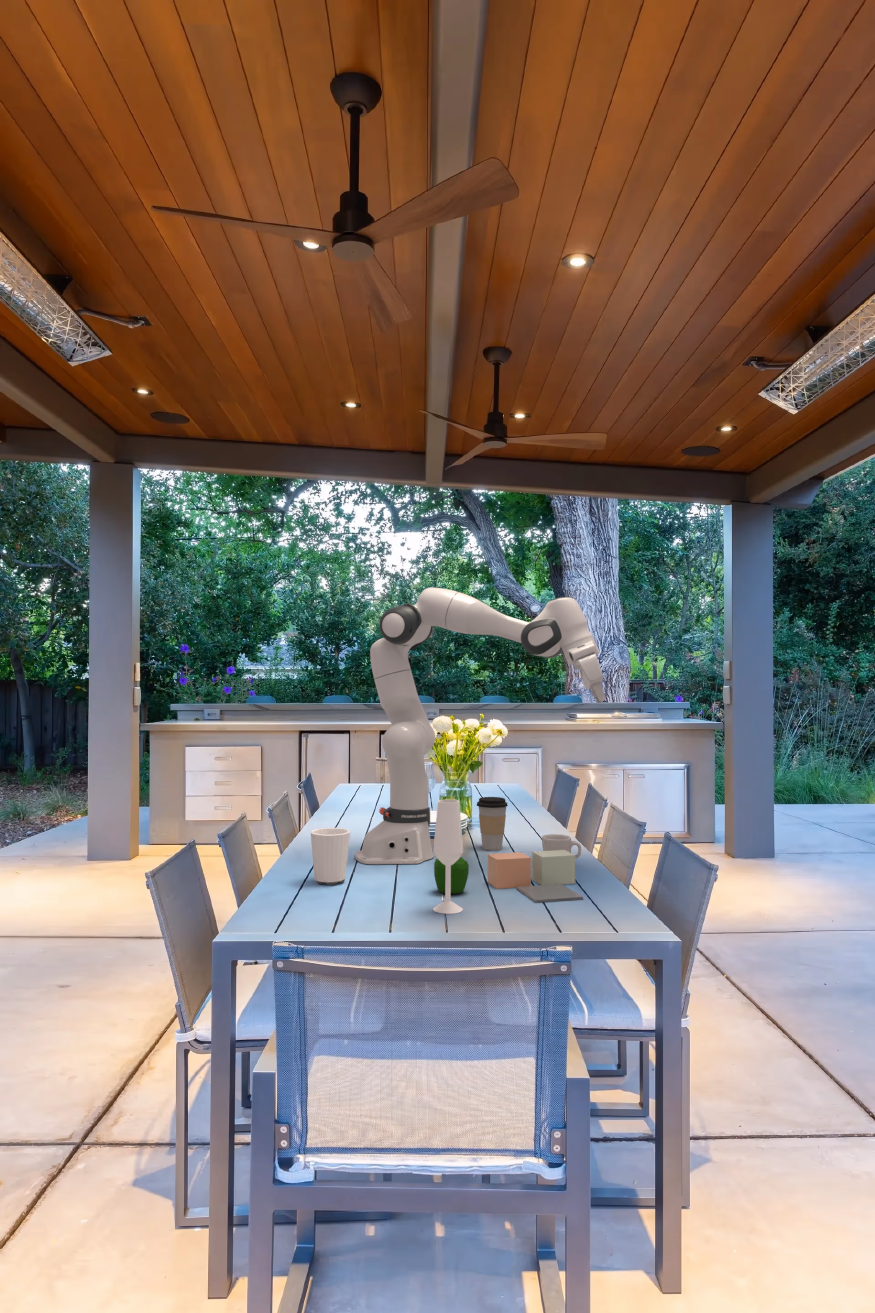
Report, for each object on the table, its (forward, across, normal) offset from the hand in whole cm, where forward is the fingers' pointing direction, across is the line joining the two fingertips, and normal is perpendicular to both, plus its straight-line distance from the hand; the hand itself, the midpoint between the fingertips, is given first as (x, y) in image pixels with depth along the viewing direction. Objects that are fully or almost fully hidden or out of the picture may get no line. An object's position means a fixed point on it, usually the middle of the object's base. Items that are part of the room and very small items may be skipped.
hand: (601, 701), depth 214 cm
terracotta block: (+34, +9, -39) cm, 53 cm away
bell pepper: (+30, +18, -52) cm, 63 cm away
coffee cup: (+28, -32, -45) cm, 62 cm away
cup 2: (+38, -13, -26) cm, 48 cm away
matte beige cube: (+38, +5, -29) cm, 48 cm away
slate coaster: (+39, +17, -30) cm, 52 cm away
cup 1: (+18, +14, -81) cm, 84 cm away
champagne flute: (+32, +33, -52) cm, 69 cm away
